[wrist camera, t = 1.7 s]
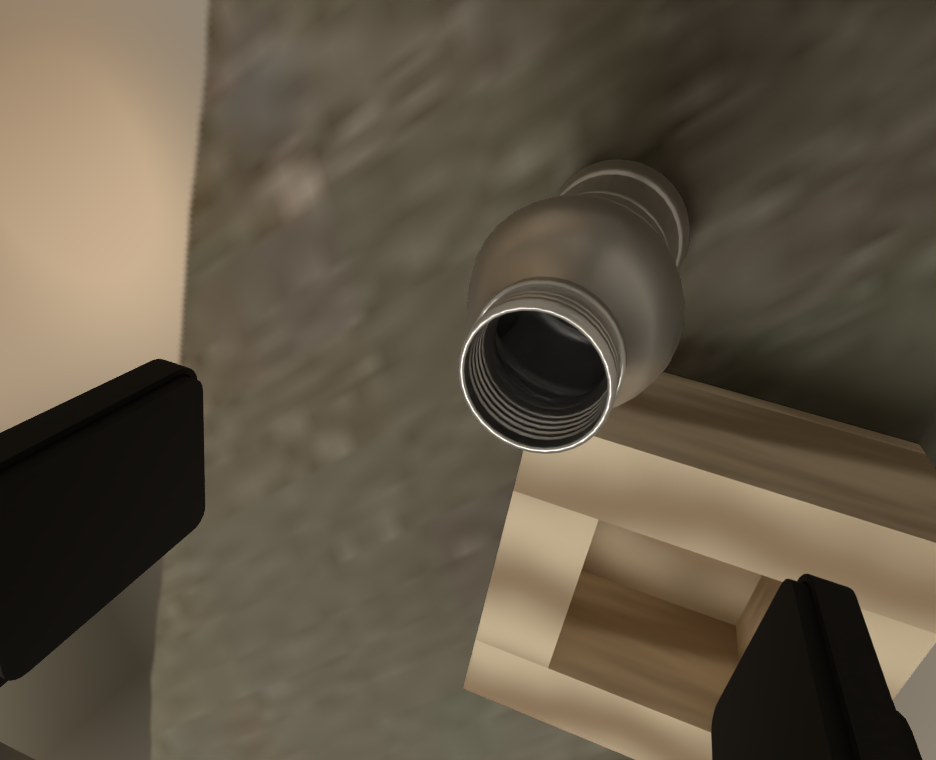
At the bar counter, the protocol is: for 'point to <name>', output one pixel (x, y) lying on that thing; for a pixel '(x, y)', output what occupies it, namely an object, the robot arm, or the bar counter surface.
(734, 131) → the bar counter surface
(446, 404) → the bar counter surface
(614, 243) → the plastic bottle
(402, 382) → the bar counter surface
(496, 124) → the bar counter surface
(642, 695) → the well block
